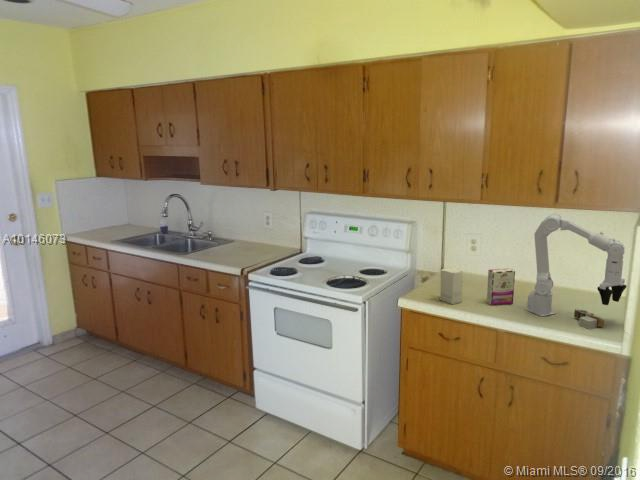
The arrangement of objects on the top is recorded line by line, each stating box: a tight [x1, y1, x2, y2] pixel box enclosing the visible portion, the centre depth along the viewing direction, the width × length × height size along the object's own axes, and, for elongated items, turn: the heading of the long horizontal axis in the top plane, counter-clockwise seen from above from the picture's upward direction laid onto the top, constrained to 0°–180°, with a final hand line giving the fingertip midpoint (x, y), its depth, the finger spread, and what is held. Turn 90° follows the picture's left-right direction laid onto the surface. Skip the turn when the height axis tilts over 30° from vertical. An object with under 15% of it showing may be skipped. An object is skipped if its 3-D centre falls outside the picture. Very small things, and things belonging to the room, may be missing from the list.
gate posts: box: [577, 312, 595, 322], centre depth 197 cm, size 4×6×3 cm
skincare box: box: [439, 267, 463, 305], centre depth 220 cm, size 8×7×16 cm
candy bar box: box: [486, 267, 516, 306], centre depth 217 cm, size 11×5×16 cm, turn 99°
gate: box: [573, 308, 606, 328], centre depth 194 cm, size 12×3×4 cm, turn 23°
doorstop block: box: [578, 316, 598, 330], centre depth 191 cm, size 4×4×4 cm
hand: (610, 302), depth 191 cm, fingers open, 7 cm apart
